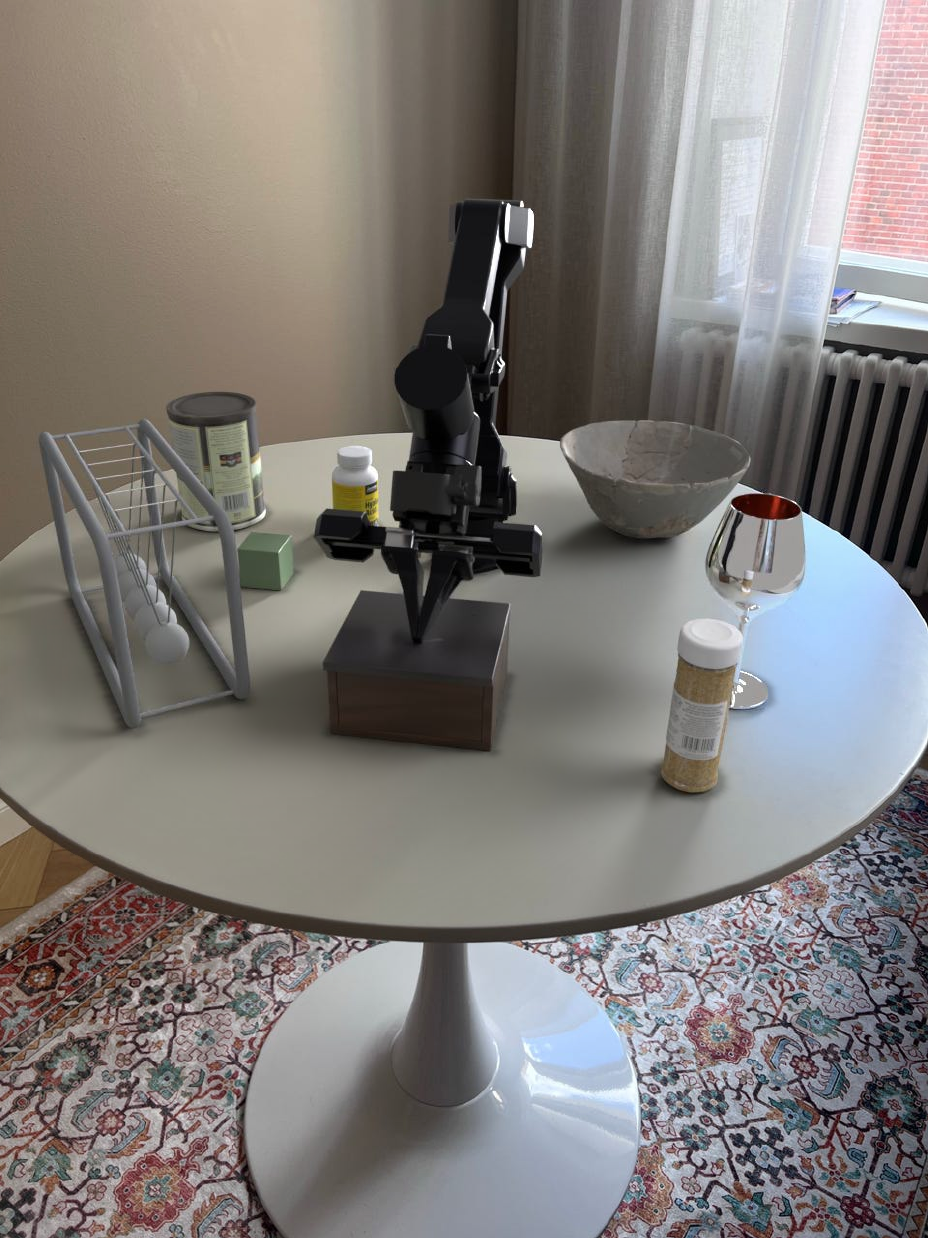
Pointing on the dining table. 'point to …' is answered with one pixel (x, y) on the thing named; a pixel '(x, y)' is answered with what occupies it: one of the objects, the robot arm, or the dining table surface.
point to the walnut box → (417, 708)
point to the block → (265, 560)
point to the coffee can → (219, 454)
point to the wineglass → (756, 569)
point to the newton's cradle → (144, 570)
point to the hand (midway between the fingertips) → (417, 641)
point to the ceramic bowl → (653, 473)
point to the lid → (448, 653)
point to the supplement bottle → (356, 482)
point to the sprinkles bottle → (700, 703)
